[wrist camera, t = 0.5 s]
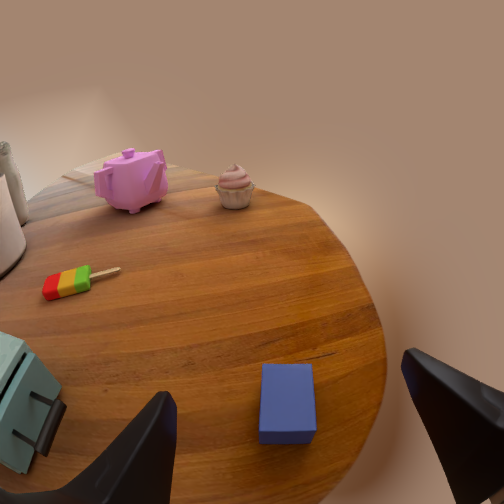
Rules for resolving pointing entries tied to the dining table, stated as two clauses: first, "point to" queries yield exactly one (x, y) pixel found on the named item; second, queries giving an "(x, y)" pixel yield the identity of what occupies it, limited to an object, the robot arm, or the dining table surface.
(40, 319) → the dining table surface
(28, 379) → the drawer
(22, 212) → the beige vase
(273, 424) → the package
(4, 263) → the planter
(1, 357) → the cabinet
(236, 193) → the cupcake
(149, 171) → the teapot
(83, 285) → the popsicle
